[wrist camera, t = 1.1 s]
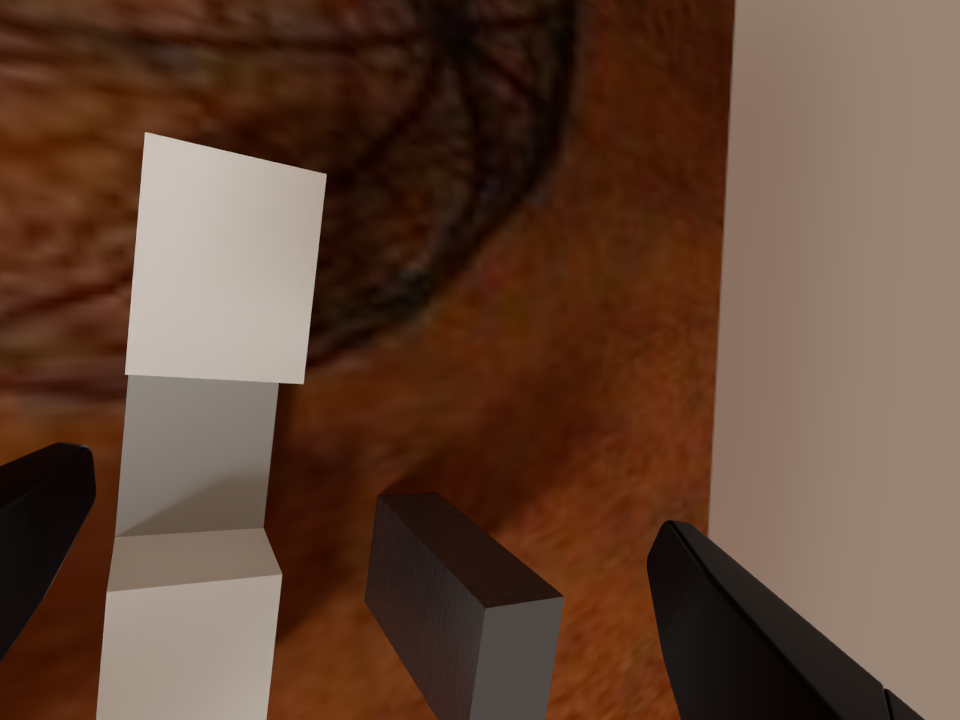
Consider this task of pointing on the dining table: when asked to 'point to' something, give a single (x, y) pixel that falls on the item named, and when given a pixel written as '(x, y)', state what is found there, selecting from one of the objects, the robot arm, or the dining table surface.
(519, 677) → the grey brushed metal block
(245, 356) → the white block dumbbell
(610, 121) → the dining table surface
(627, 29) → the dining table surface
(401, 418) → the dining table surface
